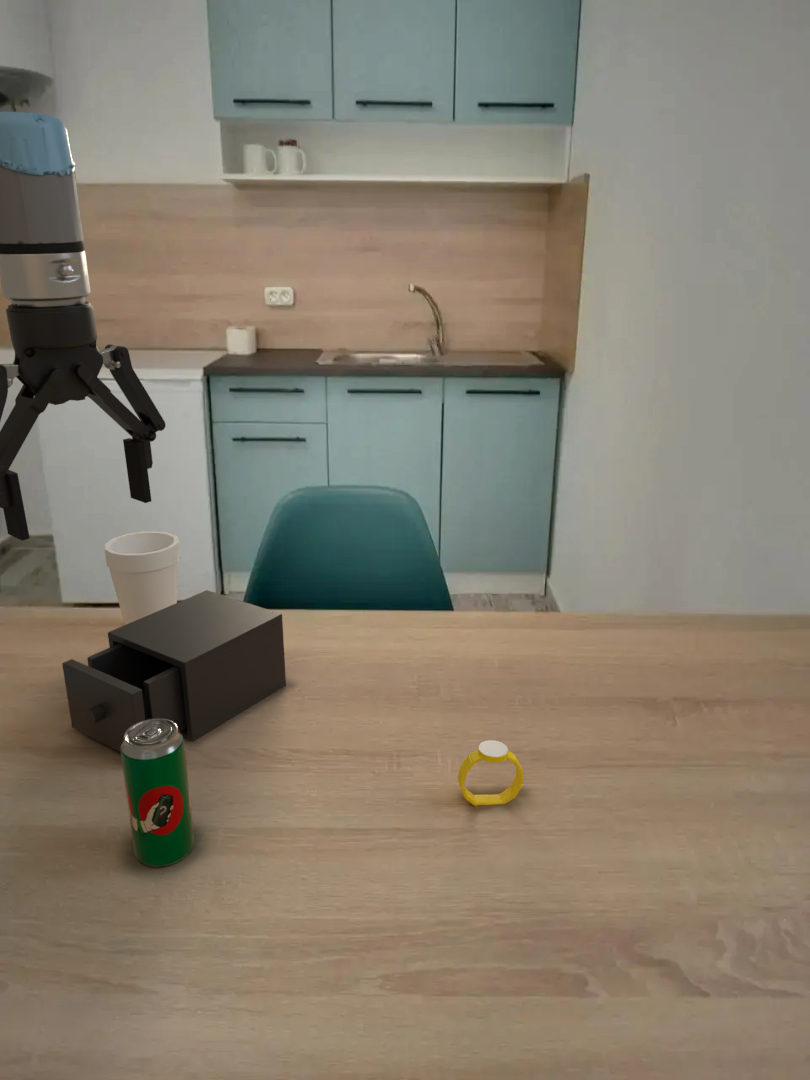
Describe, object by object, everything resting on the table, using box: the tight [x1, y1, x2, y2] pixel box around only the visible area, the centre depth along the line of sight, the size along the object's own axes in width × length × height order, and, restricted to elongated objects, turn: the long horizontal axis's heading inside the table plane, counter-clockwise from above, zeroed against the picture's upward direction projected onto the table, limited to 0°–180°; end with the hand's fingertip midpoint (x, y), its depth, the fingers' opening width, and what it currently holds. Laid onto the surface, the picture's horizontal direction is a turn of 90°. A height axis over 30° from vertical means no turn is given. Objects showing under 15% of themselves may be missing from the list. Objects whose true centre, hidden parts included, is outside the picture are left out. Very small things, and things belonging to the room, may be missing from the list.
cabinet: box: [107, 589, 287, 743], centre depth 95 cm, size 15×13×10 cm
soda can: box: [120, 719, 195, 868], centre depth 70 cm, size 5×5×12 cm
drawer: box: [61, 643, 187, 753], centre depth 90 cm, size 15×11×8 cm
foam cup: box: [104, 530, 181, 625], centre depth 111 cm, size 10×9×13 cm
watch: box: [457, 739, 524, 807], centre depth 78 cm, size 6×3×6 cm, turn 98°
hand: (83, 517), depth 84 cm, fingers open, 13 cm apart
